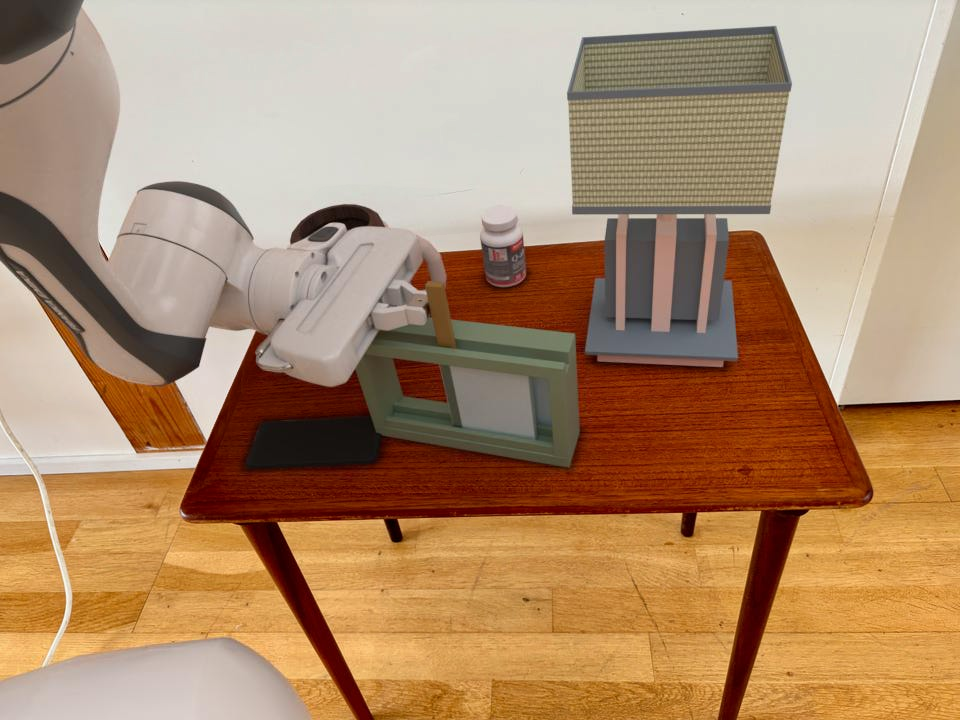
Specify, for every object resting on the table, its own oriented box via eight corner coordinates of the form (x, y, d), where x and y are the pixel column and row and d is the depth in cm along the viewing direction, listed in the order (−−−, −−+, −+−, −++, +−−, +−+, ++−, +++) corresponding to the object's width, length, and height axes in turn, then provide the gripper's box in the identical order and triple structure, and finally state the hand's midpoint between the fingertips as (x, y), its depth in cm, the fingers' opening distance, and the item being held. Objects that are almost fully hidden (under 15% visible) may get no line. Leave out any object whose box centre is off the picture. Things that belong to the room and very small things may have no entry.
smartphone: (260, 420, 83) (385, 414, 81) (262, 425, 84) (386, 419, 82) (242, 467, 78) (375, 461, 76) (245, 471, 79) (377, 466, 77)
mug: (294, 360, 91) (255, 264, 81) (324, 289, 102) (292, 196, 92) (446, 356, 88) (425, 255, 78) (460, 283, 99) (443, 186, 89)
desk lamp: (736, 296, 89) (775, 24, 68) (743, 374, 79) (792, 84, 58) (589, 293, 94) (582, 36, 72) (578, 366, 84) (566, 94, 62)
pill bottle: (523, 289, 96) (517, 226, 89) (482, 288, 97) (473, 226, 91) (529, 264, 100) (523, 202, 94) (489, 264, 101) (481, 203, 95)
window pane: (535, 443, 74) (519, 295, 61) (453, 430, 76) (421, 286, 64) (537, 436, 74) (522, 288, 61) (456, 423, 77) (425, 279, 64)
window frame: (569, 468, 73) (563, 369, 64) (376, 434, 80) (345, 341, 70) (579, 432, 76) (575, 333, 67) (394, 403, 83) (366, 309, 74)
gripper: (232, 339, 61) (377, 358, 57) (338, 213, 75) (461, 221, 71) (257, 390, 65) (393, 412, 61) (353, 262, 79) (469, 273, 75)
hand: (430, 308), depth 66 cm, fingers closed
